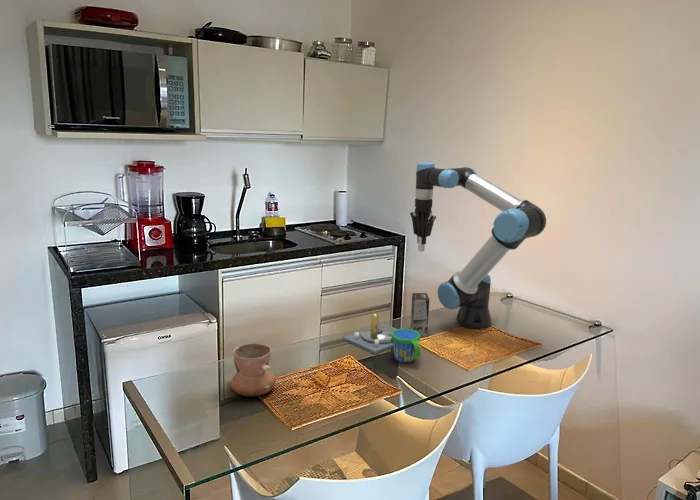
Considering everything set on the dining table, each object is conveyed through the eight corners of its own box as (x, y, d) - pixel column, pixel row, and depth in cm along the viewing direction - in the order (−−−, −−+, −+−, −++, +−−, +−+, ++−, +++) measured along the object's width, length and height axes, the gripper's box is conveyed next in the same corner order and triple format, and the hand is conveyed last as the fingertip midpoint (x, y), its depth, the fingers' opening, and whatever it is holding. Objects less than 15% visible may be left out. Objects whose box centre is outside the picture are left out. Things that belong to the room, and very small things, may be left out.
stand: (414, 338, 218) (414, 329, 217) (375, 354, 202) (375, 345, 201) (382, 325, 230) (382, 317, 229) (343, 339, 215) (343, 331, 214)
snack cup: (427, 365, 194) (429, 339, 192) (402, 370, 190) (403, 344, 187) (406, 348, 208) (407, 324, 205) (382, 352, 204) (383, 328, 201)
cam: (385, 326, 226) (386, 300, 223) (404, 339, 213) (406, 312, 210) (354, 332, 219) (354, 305, 216) (372, 346, 206) (373, 318, 203)
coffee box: (427, 336, 220) (429, 299, 216) (412, 336, 220) (413, 299, 216) (425, 328, 228) (427, 292, 225) (410, 327, 229) (411, 292, 225)
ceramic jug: (286, 392, 174) (286, 351, 170) (249, 407, 164) (247, 364, 161) (255, 373, 186) (254, 335, 183) (219, 387, 176) (217, 347, 173)
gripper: (441, 199, 228) (438, 252, 234) (417, 195, 237) (415, 247, 243) (430, 200, 223) (427, 255, 229) (406, 197, 232) (404, 249, 238)
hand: (421, 250), depth 236 cm, fingers closed
